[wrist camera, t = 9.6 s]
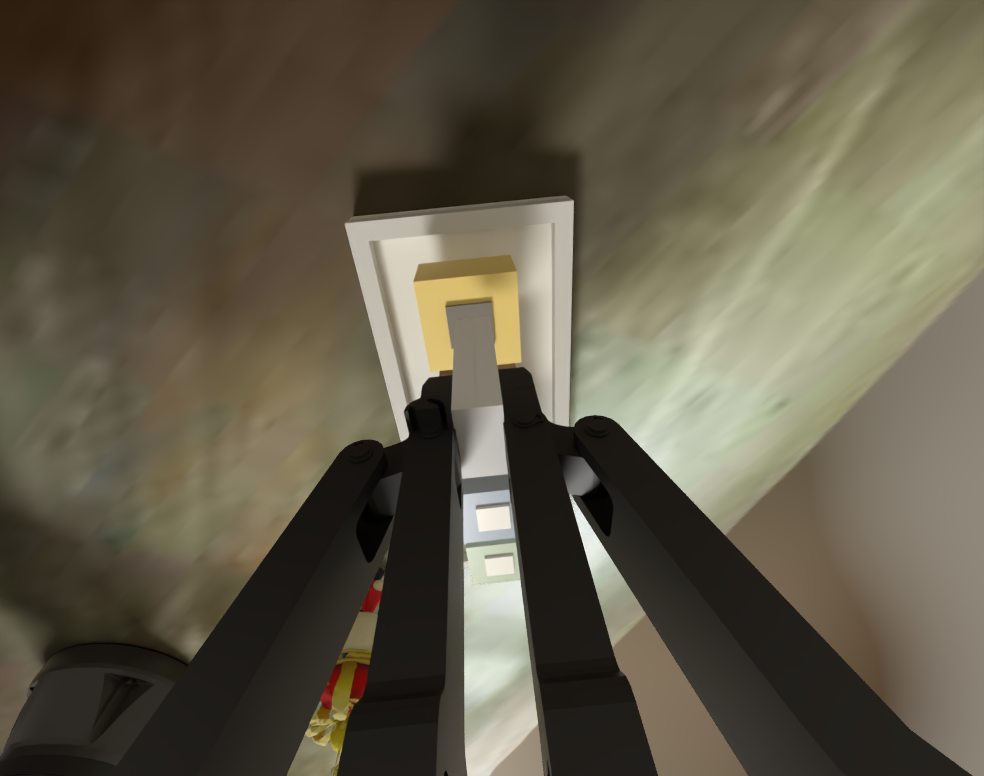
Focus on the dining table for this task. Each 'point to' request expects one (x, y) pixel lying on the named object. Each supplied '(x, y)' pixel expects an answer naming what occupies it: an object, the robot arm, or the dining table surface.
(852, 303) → the dining table surface
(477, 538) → the blue square block
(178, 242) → the dining table surface
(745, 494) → the dining table surface
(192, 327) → the dining table surface
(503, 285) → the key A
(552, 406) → the base
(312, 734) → the toy
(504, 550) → the key
